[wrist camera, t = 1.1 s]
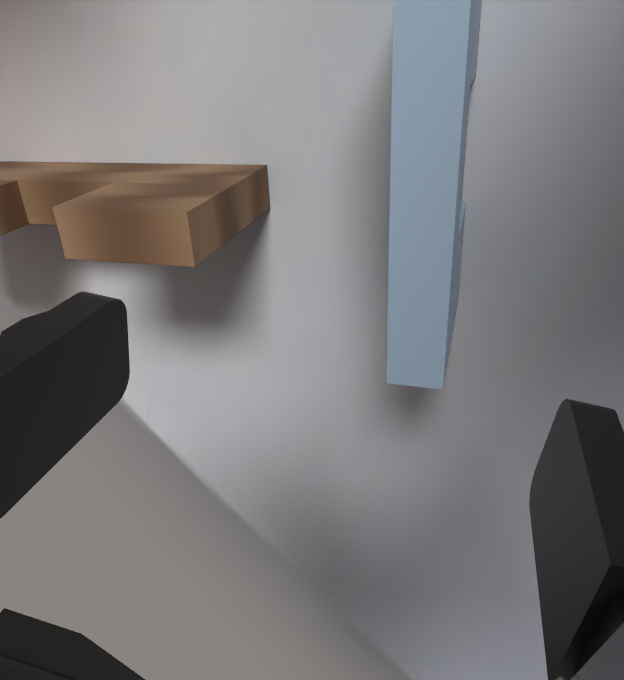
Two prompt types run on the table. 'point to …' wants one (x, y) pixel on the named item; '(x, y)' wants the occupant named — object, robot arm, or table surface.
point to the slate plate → (427, 182)
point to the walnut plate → (134, 207)
